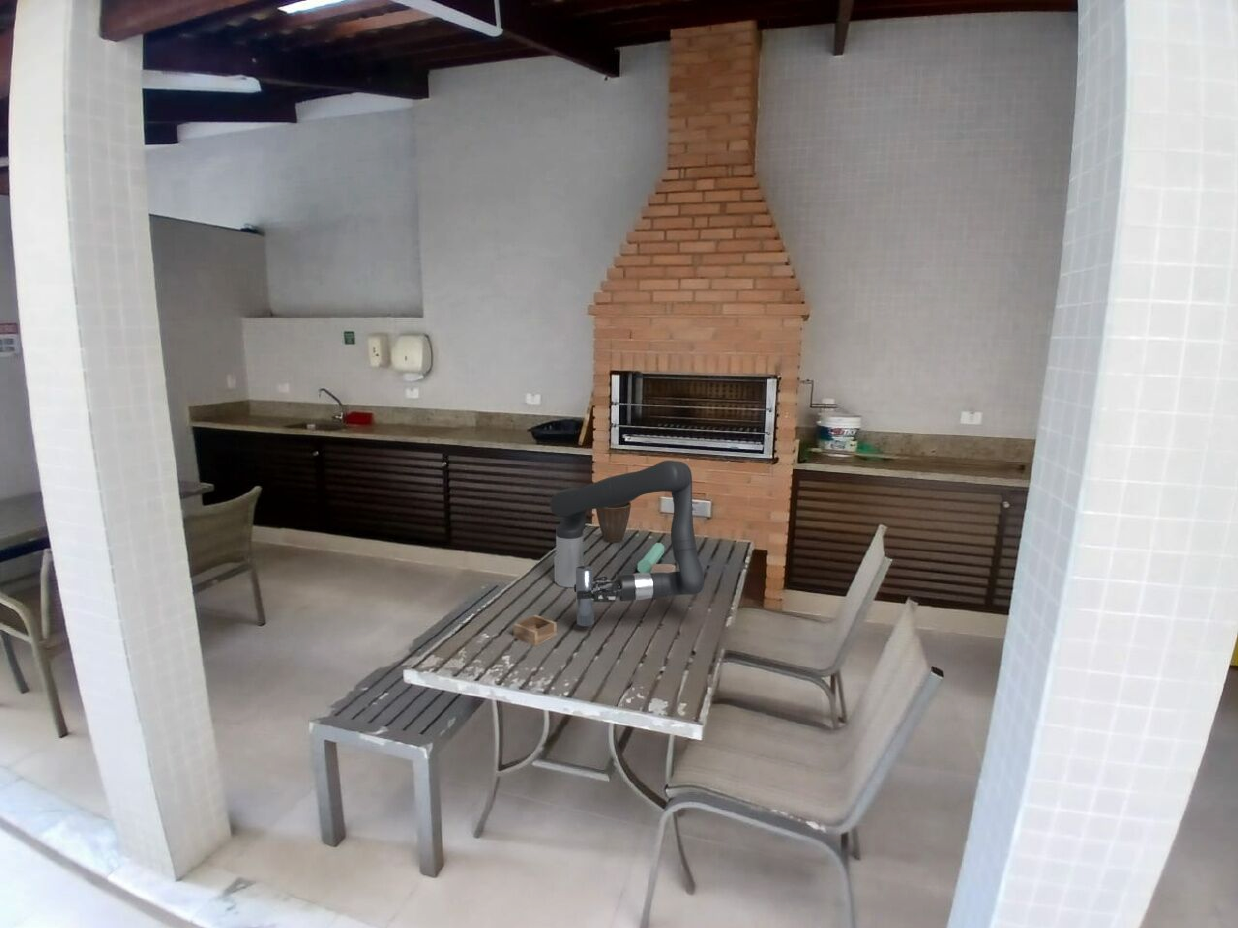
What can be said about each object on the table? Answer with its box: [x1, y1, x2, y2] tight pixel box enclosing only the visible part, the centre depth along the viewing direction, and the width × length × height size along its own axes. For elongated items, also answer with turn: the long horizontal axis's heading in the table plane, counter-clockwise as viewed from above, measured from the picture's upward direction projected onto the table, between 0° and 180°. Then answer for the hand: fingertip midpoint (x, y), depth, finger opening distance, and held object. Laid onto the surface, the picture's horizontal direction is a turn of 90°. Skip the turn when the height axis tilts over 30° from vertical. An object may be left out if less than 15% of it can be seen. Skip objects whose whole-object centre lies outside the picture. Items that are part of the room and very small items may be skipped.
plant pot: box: [595, 501, 632, 544], centre depth 265 cm, size 15×15×16 cm
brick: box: [650, 563, 677, 573], centre depth 218 cm, size 17×8×5 cm, turn 170°
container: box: [637, 542, 665, 573], centre depth 239 cm, size 6×6×25 cm
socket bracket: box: [512, 614, 559, 647], centre depth 177 cm, size 9×9×4 cm
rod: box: [575, 565, 595, 627], centre depth 178 cm, size 5×5×16 cm
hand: (575, 591), depth 177 cm, fingers closed on rod, 4 cm apart
